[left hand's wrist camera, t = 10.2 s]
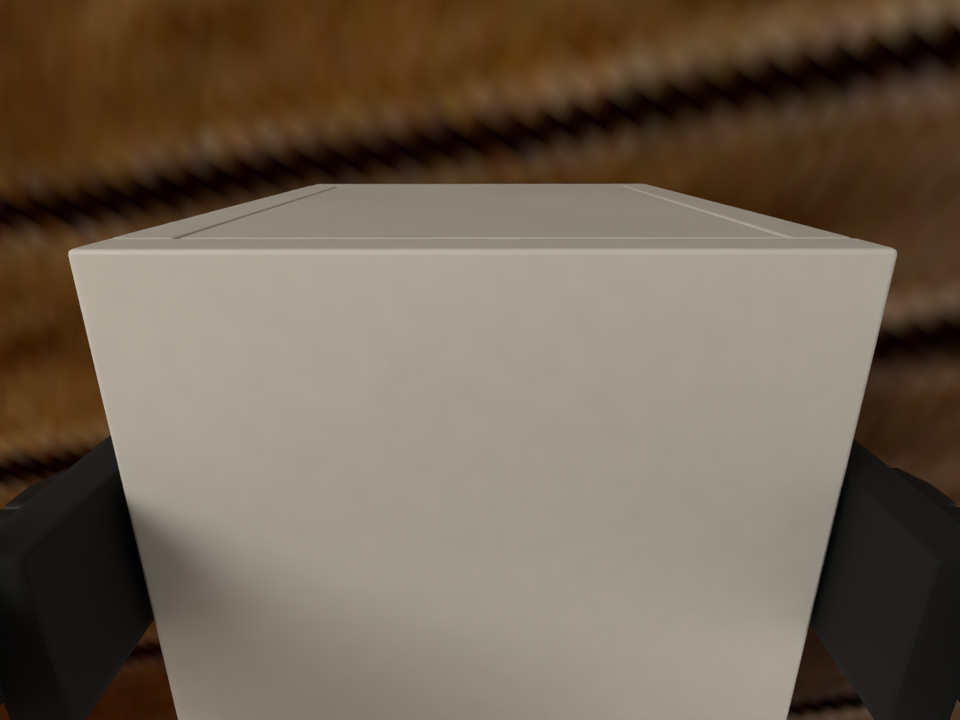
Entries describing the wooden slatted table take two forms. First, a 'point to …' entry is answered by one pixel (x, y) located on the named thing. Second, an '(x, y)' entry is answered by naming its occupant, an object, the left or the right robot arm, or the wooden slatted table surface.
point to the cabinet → (482, 447)
